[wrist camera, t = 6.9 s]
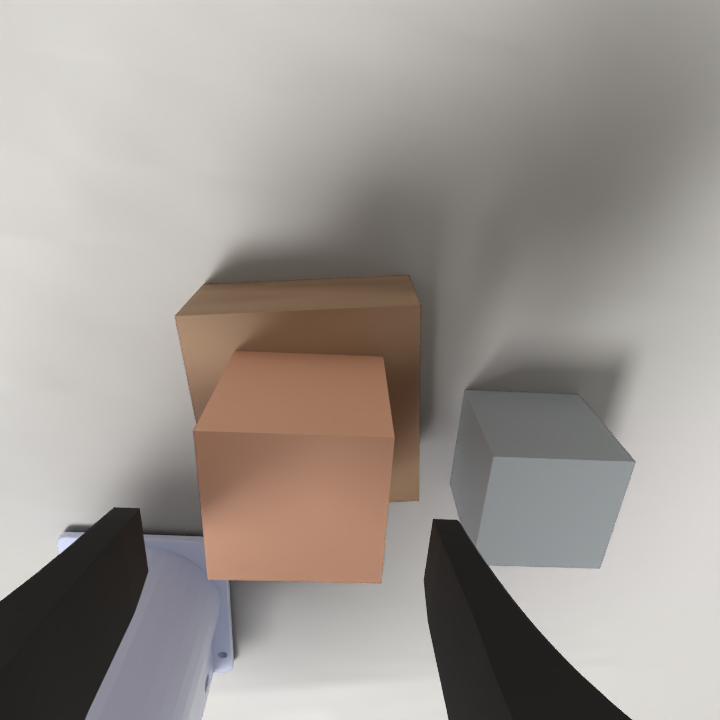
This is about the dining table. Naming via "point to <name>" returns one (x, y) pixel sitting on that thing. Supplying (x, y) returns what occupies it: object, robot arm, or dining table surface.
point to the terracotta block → (296, 468)
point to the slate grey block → (537, 479)
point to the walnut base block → (314, 341)
